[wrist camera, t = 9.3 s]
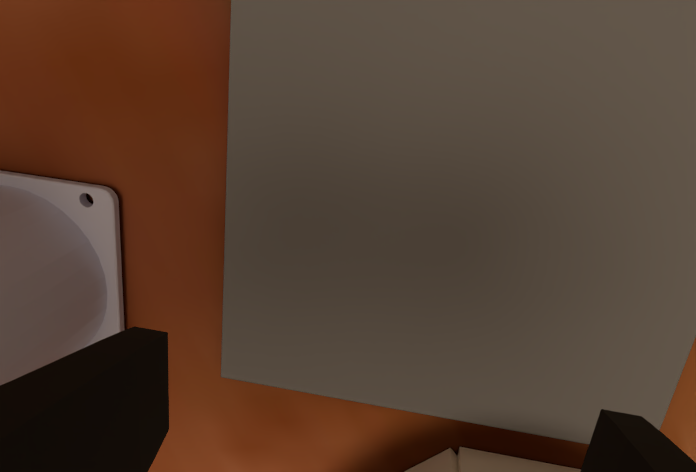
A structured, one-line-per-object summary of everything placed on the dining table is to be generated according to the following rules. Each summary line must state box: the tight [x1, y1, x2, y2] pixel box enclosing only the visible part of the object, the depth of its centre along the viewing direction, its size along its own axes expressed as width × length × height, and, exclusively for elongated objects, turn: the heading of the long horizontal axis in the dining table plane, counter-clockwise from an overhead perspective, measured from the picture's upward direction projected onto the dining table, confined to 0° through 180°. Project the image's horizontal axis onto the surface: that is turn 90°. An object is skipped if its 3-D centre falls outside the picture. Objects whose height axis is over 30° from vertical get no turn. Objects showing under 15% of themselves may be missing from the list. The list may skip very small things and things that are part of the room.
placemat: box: [221, 0, 696, 444], centre depth 17 cm, size 16×16×1 cm
